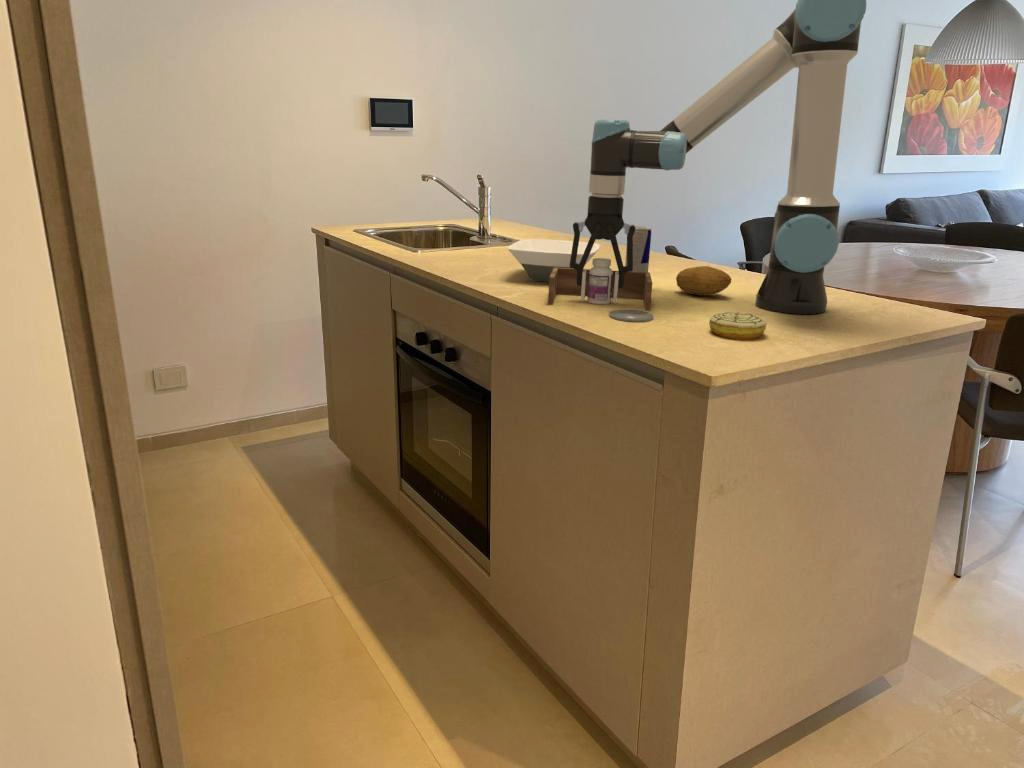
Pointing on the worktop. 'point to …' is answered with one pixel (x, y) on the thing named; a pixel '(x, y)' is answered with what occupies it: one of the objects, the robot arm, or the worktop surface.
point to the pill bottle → (600, 282)
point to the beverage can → (641, 249)
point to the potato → (703, 280)
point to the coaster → (631, 315)
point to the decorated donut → (737, 325)
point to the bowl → (547, 256)
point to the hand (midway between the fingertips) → (598, 301)
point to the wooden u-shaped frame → (632, 287)
